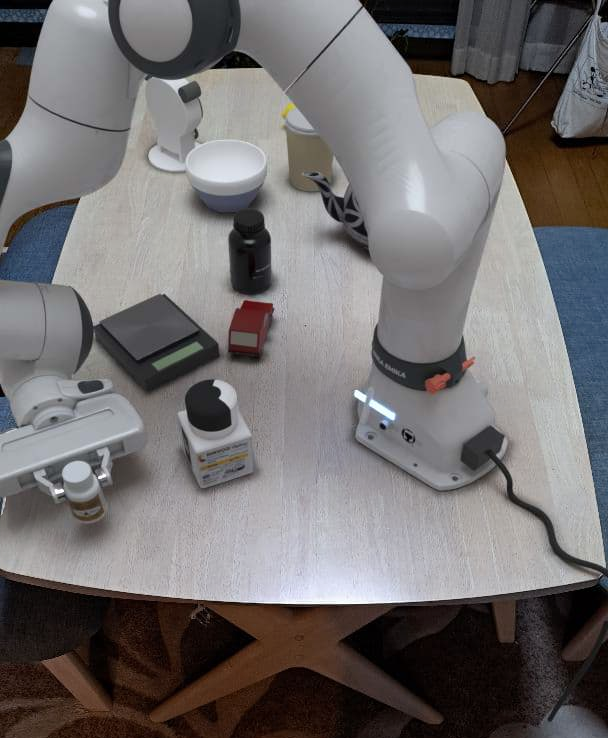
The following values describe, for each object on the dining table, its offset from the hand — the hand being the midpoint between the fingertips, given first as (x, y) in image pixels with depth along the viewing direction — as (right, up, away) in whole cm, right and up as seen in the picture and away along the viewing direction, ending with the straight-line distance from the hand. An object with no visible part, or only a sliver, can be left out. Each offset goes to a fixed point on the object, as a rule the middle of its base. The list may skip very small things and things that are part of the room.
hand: (84, 490), depth 97 cm
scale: (+4, +24, +27) cm, 36 cm away
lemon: (+26, +77, +66) cm, 105 cm away
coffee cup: (+28, +62, +55) cm, 87 cm away
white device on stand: (+2, +68, +59) cm, 91 cm away
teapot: (+41, +48, +45) cm, 78 cm away
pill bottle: (-1, -2, +5) cm, 5 cm away
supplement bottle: (+18, +37, +37) cm, 55 cm away
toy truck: (+18, +26, +29) cm, 43 cm away
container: (+15, +5, +14) cm, 21 cm away
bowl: (+13, +56, +51) cm, 77 cm away
